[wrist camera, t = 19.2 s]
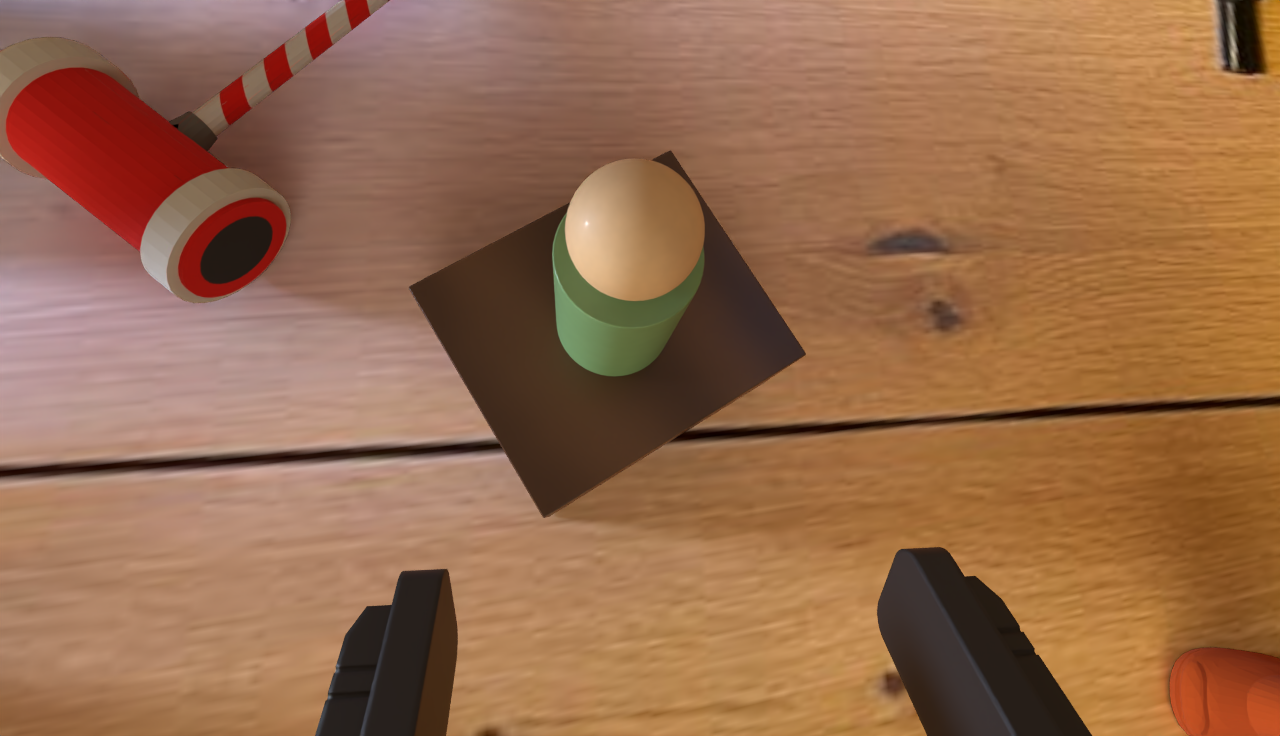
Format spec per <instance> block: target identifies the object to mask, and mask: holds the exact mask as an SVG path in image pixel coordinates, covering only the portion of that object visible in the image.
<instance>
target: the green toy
mask: <svg viewBox="0 0 1280 736" xmlns="http://www.w3.org/2000/svg"><path fill="white" fill-rule="evenodd" d="M704 237H705V223H704V216H703V212H702V208H701V205H700V203H699V200H698V198H697V196H696V194H695V193H694V191H693V189H692V188H691V187H690V185H689V184H688V183H687V182H686V181H685V180H684V179H683V178H682V177H681V176H680V175H679V174H678V173H676V172H675V171H674V170H672V169H671V168H669V167H667V166H665V165H663V164H661V163H658V162H655V161H652V160H647V159H638V158H632V159H623V160H618V161H615V162H612V163H609V164H607V165H605V166H602V167H601V168H599V169H597V170H596V171H595V172H593V173H592V174H591V175H590V176H588V177H587V178H586V179H585V180H584V182H583V183H582V184H581V185H580V186H579V188H578V189H577V190H576V192H575V194H574V196H573V198H572V200H571V202H570V205H569V208H568V211H567V213H566V214H565V216H564V217H563V219H562V220H561V222H560V224H559V226H558V228H557V231H556V234H555V237H554V242H553V251H552V259H553V275H554V292H555V308H556V324H557V331H558V335H559V338H560V341H561V343H562V345H563V347H564V349H565V350H566V352H567V353H568V354H569V356H570V357H571V358H572V359H573V360H574V361H575V362H577V363H578V364H579V365H580V366H582V367H583V368H585V369H587V370H589V371H591V372H593V373H597V374H600V375H605V376H624V375H629V374H632V373H635V372H638V371H640V370H642V369H644V368H645V367H647V366H648V365H650V364H651V363H652V362H653V361H654V360H655V359H656V358H657V357H658V356H659V354H660V353H661V351H662V350H663V348H664V347H665V345H666V343H667V341H668V340H669V338H670V336H671V335H672V333H673V331H674V329H675V328H676V326H677V324H678V323H679V321H680V319H681V317H682V316H683V314H684V312H685V311H686V309H687V307H688V305H689V304H690V302H691V300H692V298H693V297H694V295H695V293H696V292H697V289H698V287H699V285H700V283H701V279H702V276H703V270H704V249H703V244H704Z"/></svg>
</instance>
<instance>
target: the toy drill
mask: <svg viewBox="0 0 1280 736" xmlns="http://www.w3.org/2000/svg"><path fill="white" fill-rule="evenodd" d="M1170 699H1171V705H1172V708H1173V712H1174V715H1175V717H1176V719H1177V721H1178V723H1179V725H1180V726H1181V727H1182V728H1183V729H1184V731H1185V732H1186V733H1187V734H1188V735H1189V736H1280V659H1279V658H1276V657H1273V656H1269V655H1264V654H1260V653H1255V652H1248V651H1242V650H1234V649H1226V648H1216V647H1215V648H1198V649H1193V650H1190V651H1188V652H1186V653H1184V654H1182V655H1181V656H1180V657H1179V658H1178V659H1177V660H1176V662H1175V664H1174V667H1173V669H1172V672H1171V677H1170Z"/></svg>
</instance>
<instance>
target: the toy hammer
mask: <svg viewBox="0 0 1280 736" xmlns="http://www.w3.org/2000/svg"><path fill="white" fill-rule="evenodd" d="M388 1H390V0H341V1H340V2H338V3H337V4H336V5H334V6H333V7H332V8H330V9H329V10H328V11H326V12H325V13H324V14H322V15H321V16H320V17H318V18H317V19H316V20H314V21H313V22H312V23H310V24H309V25H308V26H307V27H305V28H304V29H303V30H301V31H300V32H299V33H297V34H296V35H295V36H293V37H292V38H291V39H289V40H288V41H287V42H285V43H284V44H283V45H281V46H280V47H279V48H277V49H276V50H275V51H273V52H272V53H271V54H270V55H268V56H267V57H266V58H264V59H263V60H262V61H260V62H259V63H258V64H256V65H255V66H254V67H252V68H251V69H250V70H248V71H247V72H246V73H244V74H243V75H242V76H240V77H239V78H238V79H236V80H235V81H234V82H232V83H231V84H230V85H229V86H227V87H226V88H225V89H223V90H222V91H221V92H219V93H218V94H217V95H215V96H214V97H213V98H211V99H210V100H209V101H207V102H206V103H205V104H203V105H202V106H201V107H199V108H198V109H197V110H195V111H194V112H193V113H192V112H187V113H185V114H183V115H181V116H179V117H177V118H175V119H173V120H171V121H169V122H168V121H167V120H166V119H165V118H163V117H162V116H161V115H159V114H158V113H157V112H156V111H154V110H153V109H152V108H150V107H149V106H148V105H147V104H145V103H144V102H143V101H141V100H140V99H139V97H138V93H137V90H136V88H135V87H134V85H133V83H132V82H131V80H130V79H129V78H128V77H127V76H126V75H125V74H124V73H123V72H122V71H121V70H120V69H118V68H117V67H116V66H115V65H113V64H112V63H111V62H109V61H108V60H107V59H105V58H104V57H103V56H102V55H100V54H99V53H98V52H96V51H95V50H93V49H92V48H90V47H88V46H86V45H84V44H82V43H79V42H77V41H74V40H69V39H64V38H54V37H42V38H35V39H28V40H25V41H22V42H19V43H16V44H13V45H11V46H9V47H7V48H5V49H3V50H1V51H0V157H1V158H2V159H4V160H5V161H6V162H7V163H9V164H10V165H11V166H13V167H14V168H16V169H18V170H19V171H21V172H23V173H26V174H28V175H31V176H33V177H38V178H44V179H49V180H50V181H51V182H52V183H54V184H55V185H56V186H57V187H59V188H60V189H61V190H62V191H64V192H65V193H66V194H67V195H69V196H70V197H71V198H73V199H74V200H75V201H76V202H78V203H79V204H80V205H81V206H83V207H84V208H85V209H86V210H88V211H89V212H90V213H92V214H93V215H94V216H95V217H97V218H98V219H99V220H100V221H102V222H103V223H104V224H105V225H107V226H108V227H109V228H111V229H112V230H113V231H114V232H116V233H117V234H118V235H119V236H121V237H122V238H123V239H124V240H126V241H127V242H128V243H129V244H131V245H132V246H133V247H135V248H136V249H137V250H138V251H140V253H141V261H142V263H143V266H144V268H145V270H146V271H147V272H148V273H149V274H150V276H151V277H153V278H154V279H155V280H156V281H158V282H159V283H160V284H162V285H163V286H164V287H165V288H167V289H168V290H169V291H170V292H172V293H173V294H174V295H175V296H177V297H179V298H180V299H182V300H184V301H188V302H192V303H206V302H212V301H216V300H219V299H222V298H225V297H227V296H229V295H232V294H234V293H236V292H238V291H239V290H241V289H242V288H244V287H245V286H247V285H249V284H250V283H251V282H252V281H254V280H255V279H256V278H257V277H258V276H260V275H261V274H262V273H263V272H264V271H265V270H266V269H267V268H268V266H269V265H270V264H271V263H272V262H273V260H274V259H275V258H276V256H277V255H278V253H279V252H280V250H281V248H282V247H283V245H284V242H285V240H286V238H287V235H288V232H289V229H290V222H291V214H290V208H289V206H288V203H287V201H286V200H285V199H284V197H283V196H282V195H281V194H279V193H278V192H277V191H276V190H274V189H273V188H272V187H270V186H269V185H268V184H267V183H265V182H264V181H263V180H261V179H260V178H259V177H258V176H256V175H254V174H253V173H251V172H249V171H246V170H242V169H235V168H228V167H226V166H225V165H224V164H223V163H221V162H220V161H219V160H217V159H216V158H215V157H214V156H212V155H211V154H210V153H208V152H207V151H208V150H209V148H210V147H211V146H212V145H213V144H214V142H215V141H216V140H217V137H216V136H217V135H219V134H220V133H221V132H222V131H224V130H225V129H226V128H227V127H229V126H230V125H231V124H233V123H234V122H235V121H236V120H238V119H239V118H240V117H242V116H243V115H244V114H245V113H247V112H248V111H249V110H250V109H252V108H253V107H254V106H256V105H257V104H258V103H259V102H261V101H262V100H263V99H265V98H266V97H267V96H268V95H270V94H271V93H272V92H273V91H275V90H276V89H277V88H279V87H280V86H281V85H282V84H284V83H285V82H286V81H288V80H289V79H290V78H291V77H293V76H294V75H295V74H296V73H298V72H299V71H300V70H302V69H303V68H304V67H305V66H307V65H308V64H309V63H311V62H312V61H313V60H314V59H316V58H317V57H318V56H319V55H321V54H322V53H323V52H325V51H326V50H327V49H328V48H330V47H331V46H332V45H334V44H335V43H336V42H337V41H339V40H340V39H341V38H342V37H344V36H345V35H346V34H348V33H349V32H350V31H351V30H353V29H354V28H355V27H357V26H358V25H359V24H360V23H362V22H363V21H364V20H365V19H367V18H368V17H369V16H371V15H372V14H373V13H374V12H376V11H377V10H378V9H380V8H381V7H382V6H383V5H385V4H386V3H387V2H388Z"/></svg>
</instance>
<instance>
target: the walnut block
mask: <svg viewBox="0 0 1280 736" xmlns="http://www.w3.org/2000/svg"><path fill="white" fill-rule="evenodd" d="M652 161H655V162H658V163H661V164H663V165H665V166H667V167H669V168H671V169H672V170H674V171H675V172H676V173H678V174H679V175H680V176H681V177H682V178H683V179H684V180H685V181H686V182H687V183H688V184H689V185H690V187H691V188H692V189H693V191H694V193H695V194H696V196H697V198H698V200H699V203H700V205H701V208H702V212H703V216H704V223H705V237H704V244H703V249H704V270H703V276H702V279H701V283H700V285H699V287H698V289H697V292H696V293H695V295H694V297H693V298H692V300H691V302H690V304H689V305H688V307H687V309H686V311H685V312H684V314H683V316H682V317H681V319H680V321H679V323H678V324H677V326H676V328H675V329H674V331H673V333H672V335H671V336H670V338H669V340H668V341H667V343H666V345H665V347H664V348H663V350H662V351H661V353H660V354H659V356H658V357H657V358H656V359H655V360H654V361H653V362H652V363H651V364H650V365H648V366H647V367H645V368H644V369H642V370H640V371H638V372H635V373H632V374H629V375H624V376H605V375H600V374H597V373H593V372H591V371H589V370H587V369H585V368H583V367H582V366H580V365H579V364H578V363H577V362H575V361H574V360H573V359H572V358H571V357H570V356H569V354H568V353H567V352H566V350H565V349H564V347H563V345H562V343H561V341H560V338H559V335H558V331H557V324H556V308H555V292H554V275H553V259H552V251H553V242H554V237H555V234H556V231H557V228H558V226H559V224H560V222H561V220H562V219H563V217H564V216H565V214H566V213H567V211H568V208H569V205H570V203H569V204H567V205H565V206H563V207H561V208H559V209H557V210H555V211H553V212H551V213H549V214H547V215H546V216H544V217H542V218H540V219H538V220H536V221H534V222H532V223H530V224H528V225H526V226H524V227H523V228H521V229H519V230H517V231H515V232H513V233H511V234H509V235H507V236H505V237H503V238H501V239H500V240H498V241H496V242H494V243H492V244H490V245H488V246H486V247H484V248H482V249H480V250H478V251H477V252H475V253H473V254H471V255H469V256H467V257H465V258H463V259H461V260H459V261H457V262H455V263H454V264H452V265H450V266H448V267H446V268H444V269H442V270H440V271H438V272H436V273H434V274H432V275H431V276H429V277H427V278H425V279H423V280H421V281H419V282H417V283H415V284H413V285H411V286H409V290H410V291H411V293H412V295H413V296H414V298H415V300H416V301H417V303H418V305H419V307H420V308H421V310H422V312H423V313H424V315H425V317H426V319H427V320H428V322H429V324H430V325H431V327H432V329H433V330H434V332H435V334H436V336H437V337H438V339H439V341H440V342H441V344H442V346H443V348H444V349H445V351H446V353H447V354H448V356H449V358H450V360H451V361H452V363H453V365H454V366H455V368H456V370H457V371H458V373H459V375H460V377H461V378H462V380H463V382H464V383H465V385H466V387H467V389H468V390H469V392H470V394H471V395H472V397H473V399H474V400H475V402H476V404H477V406H478V407H479V409H480V411H481V412H482V414H483V416H484V418H485V419H486V421H487V423H488V424H489V426H490V428H491V429H492V431H493V433H494V435H495V436H496V438H497V440H498V441H499V443H500V445H501V447H502V448H503V450H504V452H505V453H506V455H507V457H508V458H509V460H510V462H511V464H512V465H513V467H514V469H515V470H516V472H517V474H518V476H519V477H520V479H521V481H522V482H523V484H524V486H525V487H526V489H527V491H528V493H529V494H530V496H531V498H532V499H533V501H534V503H535V505H536V506H537V508H538V510H539V511H540V513H541V515H542V516H543V517H544V518H545V517H549V516H551V515H553V514H554V513H556V512H557V511H559V510H561V509H562V508H564V507H565V506H567V505H569V504H570V503H572V502H573V501H575V500H577V499H578V498H580V497H581V496H583V495H585V494H586V493H588V492H589V491H591V490H593V489H594V488H596V487H597V486H599V485H601V484H602V483H604V482H605V481H607V480H609V479H610V478H612V477H614V476H615V475H617V474H618V473H620V472H622V471H623V470H625V469H626V468H628V467H630V466H631V465H633V464H634V463H636V462H638V461H639V460H641V459H642V458H644V457H646V456H647V455H649V454H650V453H652V452H654V451H655V450H657V449H658V448H660V447H662V446H663V445H665V444H666V443H668V442H670V441H671V440H673V439H674V438H676V437H678V436H679V435H681V434H682V433H684V432H686V431H687V430H689V429H690V428H692V427H694V426H695V425H697V424H698V423H700V422H702V421H703V420H705V419H706V418H708V417H710V416H711V415H713V414H714V413H716V412H718V411H719V410H721V409H722V408H724V407H726V406H727V405H729V404H731V403H732V402H734V401H735V400H737V399H739V398H740V397H742V396H743V395H745V394H747V393H748V392H750V391H751V390H753V389H755V388H756V387H758V386H759V385H761V384H763V383H764V382H766V381H767V380H769V379H770V378H772V377H773V376H775V375H776V374H778V373H779V372H781V371H782V370H784V369H785V368H787V367H788V366H790V365H791V364H793V363H794V362H796V361H797V360H799V359H800V358H802V357H803V356H805V355H806V353H805V352H804V350H803V349H802V347H801V346H800V344H799V343H798V341H797V340H796V338H795V336H794V335H793V333H792V332H791V330H790V329H789V327H788V326H787V324H786V323H785V321H784V320H783V318H782V317H781V315H780V314H779V312H778V311H777V309H776V308H775V306H774V305H773V303H772V302H771V300H770V299H769V297H768V296H767V294H766V293H765V291H764V290H763V288H762V287H761V285H760V284H759V282H758V281H757V279H756V278H755V276H754V275H753V273H752V272H751V270H750V269H749V267H748V266H747V264H746V263H745V261H744V260H743V258H742V257H741V255H740V254H739V252H738V251H737V249H736V248H735V246H734V245H733V243H732V242H731V240H730V239H729V237H728V236H727V234H726V233H725V231H724V230H723V228H722V227H721V225H720V224H719V222H718V221H717V219H716V218H715V216H714V215H713V213H712V212H711V210H710V209H709V207H708V206H707V204H706V203H705V201H704V200H703V198H702V197H701V195H700V194H699V192H698V191H697V189H696V188H695V186H694V185H693V183H692V182H691V180H690V179H689V177H688V176H687V174H686V173H685V171H684V170H683V168H682V167H681V165H680V164H679V162H678V161H677V159H676V158H675V156H674V155H673V153H672V152H671V151H668V152H666V153H664V154H662V155H660V156H659V157H657V158H655V159H653V160H652Z"/></svg>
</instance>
